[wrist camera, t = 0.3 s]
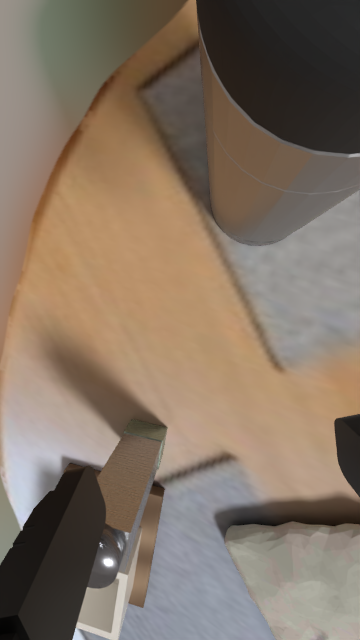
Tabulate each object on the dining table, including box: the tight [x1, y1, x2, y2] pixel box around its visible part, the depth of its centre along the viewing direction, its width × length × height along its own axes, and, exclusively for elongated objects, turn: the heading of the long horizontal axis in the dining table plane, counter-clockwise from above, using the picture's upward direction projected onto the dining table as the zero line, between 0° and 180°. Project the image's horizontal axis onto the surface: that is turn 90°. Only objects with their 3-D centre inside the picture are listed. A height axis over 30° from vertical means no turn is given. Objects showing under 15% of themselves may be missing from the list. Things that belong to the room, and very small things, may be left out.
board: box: [64, 463, 165, 608], centre depth 31 cm, size 16×12×1 cm
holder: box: [76, 527, 142, 640], centre depth 28 cm, size 9×9×5 cm
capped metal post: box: [87, 419, 167, 589], centre depth 22 cm, size 4×4×13 cm
